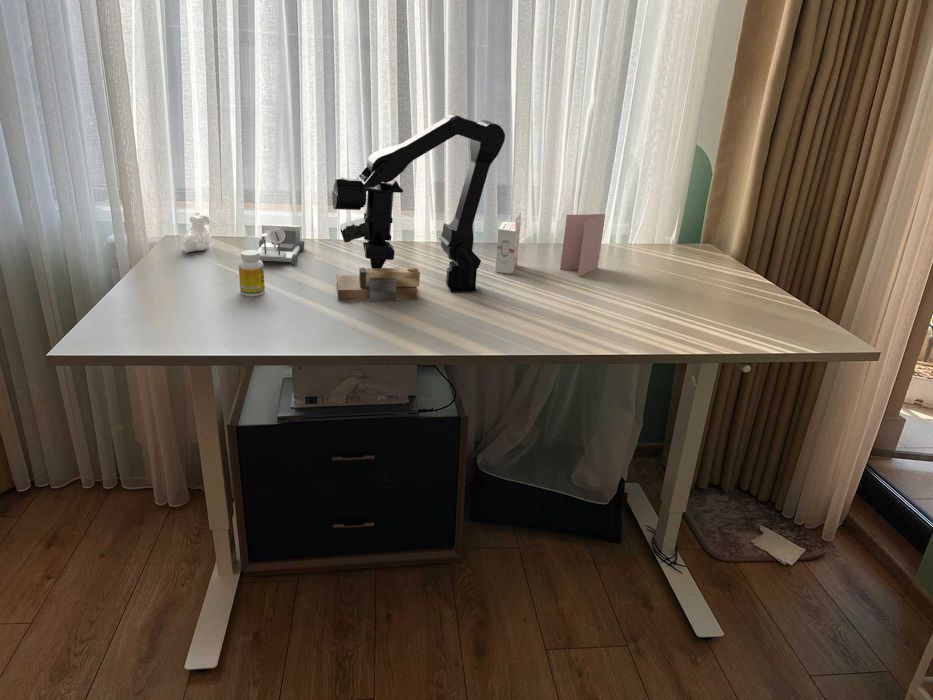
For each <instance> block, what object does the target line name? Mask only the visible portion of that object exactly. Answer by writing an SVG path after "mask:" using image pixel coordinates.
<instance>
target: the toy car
mask: <svg viewBox="0 0 933 700" xmlns="http://www.w3.org/2000/svg"><path fill="white" fill-rule="evenodd" d="M301 239H302V235H301V225H290V224H289V225H285V224H268V223H267V224H265V223H264V224H263V223H262V224H261V238H260V239H259V242H258V248H257V250H256V251H259V253H260V258H259V260H261V261H262V262H264V261H265V262H289V263H291V265H292V266H297V264H298V253H299V252H304V251H305V241H304V240H301Z"/></svg>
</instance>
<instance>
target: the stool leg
mask: <svg viewBox="0 0 933 700" xmlns="http://www.w3.org/2000/svg"><path fill="white" fill-rule="evenodd" d="M358 270H359V275H358V276H359V283H360V288H366V287H369V278H396V280H397V283H396V287H417V288H419V287H420V279H421V277H420V275H421V271H420V270H419V268H418V267H412V266H410V267H405V268H404V267H401V268H400V267H393V268H392V267H391V268H390V267H386V268H385V267H382V268H371V267H370V268H367V267H366V268H365V267H359V269H358Z"/></svg>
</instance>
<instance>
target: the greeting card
mask: <svg viewBox="0 0 933 700" xmlns="http://www.w3.org/2000/svg"><path fill="white" fill-rule="evenodd" d="M565 217H566V218H565V225H564V226H565V227H564V235H563V242H562V250H561V251H562V252H561V258H560V265H559V266H560V267H559V270H578V272H577V277H581V276H583V275H585V274H587V273H589V272H592V271H594V270H596V269H599V268H598V267H599V261H600V254H601V249H602V248H601V247H602V243H603V242H602V239H603V233H604V226H605V221H606V220H605V219H606V214H605V213H603V214H602V213H597V214H595V213H594V214H566V216H565Z"/></svg>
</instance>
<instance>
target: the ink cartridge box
mask: <svg viewBox="0 0 933 700" xmlns="http://www.w3.org/2000/svg"><path fill="white" fill-rule="evenodd" d="M521 213H522V212H519V214H518V215H517V216H516V217H515V222H512V221H502V222H501V224H500V226H498V229H497V238H496V239H497V241H496V255H495V269H494V272H495V273H501V274H511V275H512V274H514V271H515V269H516V267H517V264H518V256H519V255H518V254H519V247H520V246H519V244H520V234H521V225H522V223H521V222H522V217H521V215H522V214H521Z"/></svg>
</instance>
